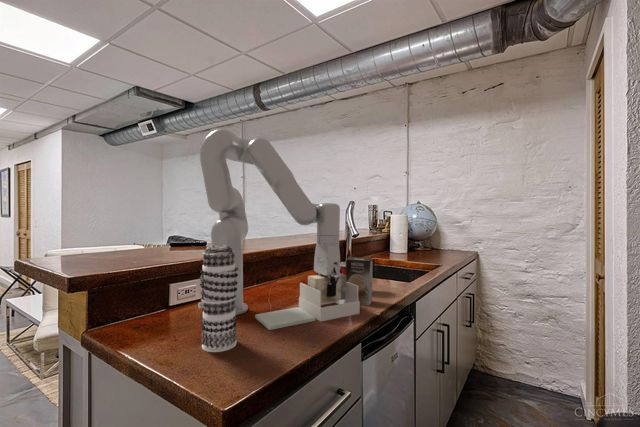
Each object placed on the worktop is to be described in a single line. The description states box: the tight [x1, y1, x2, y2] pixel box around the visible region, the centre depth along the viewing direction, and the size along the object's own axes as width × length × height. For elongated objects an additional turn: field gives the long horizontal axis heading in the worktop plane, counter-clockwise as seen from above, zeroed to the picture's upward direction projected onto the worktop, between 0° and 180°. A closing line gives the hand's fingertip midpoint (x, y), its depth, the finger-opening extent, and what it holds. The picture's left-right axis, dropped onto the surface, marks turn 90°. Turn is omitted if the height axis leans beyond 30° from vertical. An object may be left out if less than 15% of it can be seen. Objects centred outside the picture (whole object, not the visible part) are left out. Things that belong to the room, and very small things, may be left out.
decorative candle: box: [199, 245, 238, 353], centre depth 82 cm, size 9×9×25 cm
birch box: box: [307, 273, 346, 303], centre depth 109 cm, size 12×5×8 cm, turn 120°
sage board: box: [254, 306, 316, 331], centre depth 101 cm, size 15×12×1 cm
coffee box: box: [345, 256, 374, 307], centre depth 119 cm, size 9×6×16 cm
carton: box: [298, 282, 361, 322], centre depth 109 cm, size 15×15×9 cm
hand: (326, 293), depth 109 cm, fingers closed on birch box, 5 cm apart
